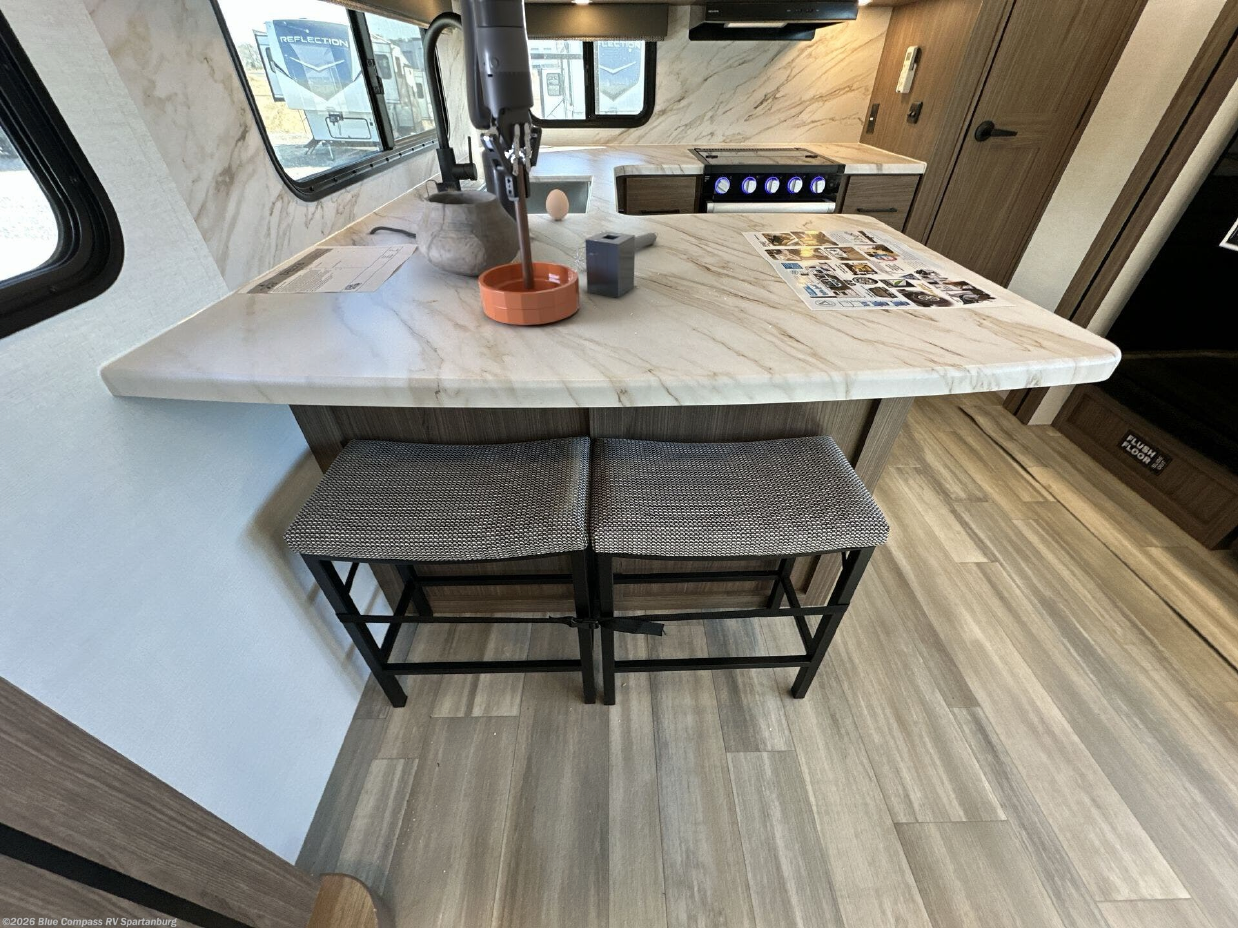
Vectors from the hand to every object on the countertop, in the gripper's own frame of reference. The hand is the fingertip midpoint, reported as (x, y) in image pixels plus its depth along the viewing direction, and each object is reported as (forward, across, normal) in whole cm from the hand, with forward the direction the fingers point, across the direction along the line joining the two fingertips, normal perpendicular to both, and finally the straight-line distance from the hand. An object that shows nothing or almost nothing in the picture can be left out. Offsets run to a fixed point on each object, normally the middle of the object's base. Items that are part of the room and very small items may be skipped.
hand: (519, 198), depth 85 cm
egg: (+18, -59, -32) cm, 70 cm away
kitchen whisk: (+18, -34, +1) cm, 38 cm away
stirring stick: (+15, 0, 0) cm, 15 cm away
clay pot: (+18, -10, -22) cm, 30 cm away
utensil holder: (+18, -14, +10) cm, 25 cm away
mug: (+18, -36, -53) cm, 67 cm away
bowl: (+18, +2, +2) cm, 18 cm away
